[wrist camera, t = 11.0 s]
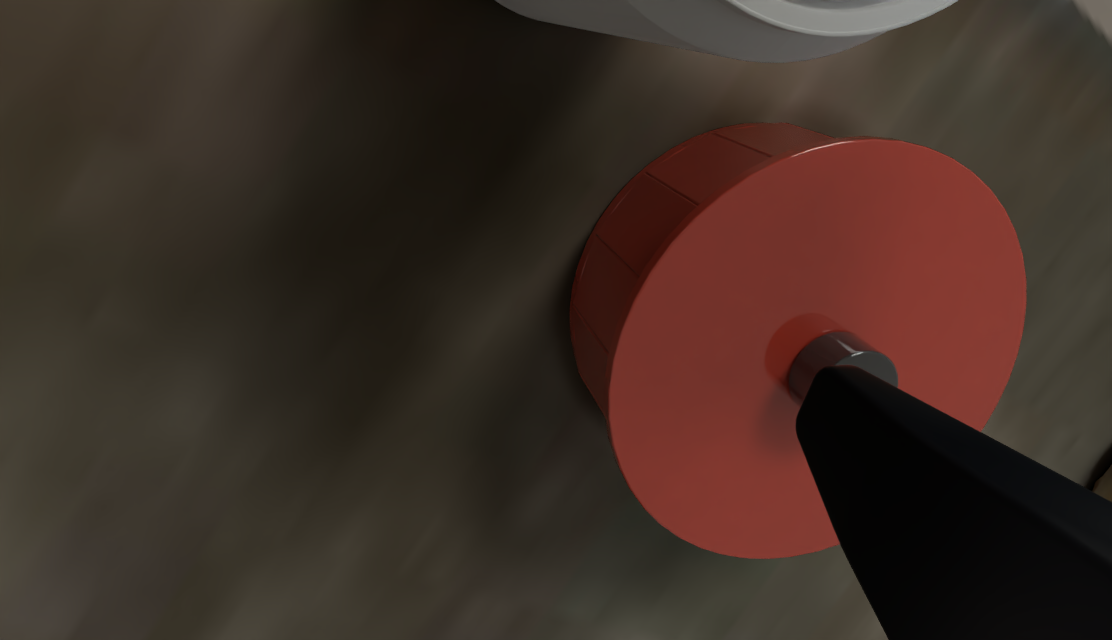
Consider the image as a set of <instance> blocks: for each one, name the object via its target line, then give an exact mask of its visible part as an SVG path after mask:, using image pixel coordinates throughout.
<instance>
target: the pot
mask: <svg viewBox="0 0 1112 640" xmlns="http://www.w3.org/2000/svg"><path fill="white" fill-rule="evenodd" d="M829 139H834V137H831V136H828V135H824V134H821V133H818V132H815V131H811V130H808V129H805V128H802V127H799V126H795V125H792V124H789V123H782V122H781V123H764V122H761V123H747V124H738V125H733V126H728V127H723V128H719V129H715V130H712V131H710V132H707V133H704V134H701V135H698V136H696V137H693V138H691V139H689V140H687V141H685V142H683V143H681V144H679V145H677V146H675V147H673V148H672V149H670V150H669V151H667V152H666V153H664V154H663V155H661V156H660V157H658V158H657V159H655V160H654V161H652V162H651V163H650V164H648V165H647V166H646V167H645V168H644V169H643V170H642V171H640V172H639V173H638V174H637V175H636V176H635V177H634V178H632V179H631V180H630V181H629V182H628V184H627V185H626V186H625V187H624V188H623V189H622V190H621V191H620V192H619V194H618V195H617V196H616V197H615V198H614V199H613V201H612V202H611V203H610V205H609V206H608V208H607V209H606V210H605V212H604V213H603V215H602V216H601V217H600V219H599V221H598V222H597V224H596V226H595V228H594V230H593V232H592V233H591V235H590V237H589V239H588V241H587V243H586V246H585V248H584V251H583V253H582V256H581V258H580V261H579V264H578V267H577V271H576V275H575V279H574V283H573V287H572V295H571V303H570V335H571V341H572V347H573V353H574V356H575V360H576V363H577V370H578V371H579V375H580V377H581V378H582V380H583V382H584V383H585V385H586V387H587V389H588V390H589V392H590V394H591V395H592V397H593V399H594V400H595V402H596V404H597V405H598V407H599V409H600V410H601V412H602V414H603V416H604V417H605V413H604V382H605V375H606V368H607V361H608V354H609V350H610V347H611V343H612V340H613V336H614V332H615V329H616V325H617V323H618V320H619V318H620V315H621V313H622V311H623V308H624V306H625V303H626V301H627V299H628V296H629V294H630V292H631V291H632V289H633V287H634V285H635V283H636V282H637V280H638V278H639V276H640V275H641V273H642V271H643V269H644V268H645V266H646V265H647V263H648V262H649V260H650V259H651V258H652V256H653V255H654V254H655V252H656V251H657V249H658V248H659V247H660V245H661V244H662V243H663V241H664V240H665V239H666V237H667V236H668V235H669V234H670V233H671V232H672V231H673V230H674V229H675V228H676V227H677V226H678V224H679V223H680V222H681V221H682V220H683V219H684V218H685V217H686V216H687V215H688V214H689V213H690V212H691V211H692V210H693V209H694V208H696V207H697V206H698V205H699V204H700V203H701V202H703V201H704V200H705V199H706V198H707V197H708V196H709V195H711V194H712V193H713V192H714V191H715V190H717V189H718V188H720V187H721V186H723V185H724V184H726V183H727V182H729V181H730V180H732V179H733V178H735V177H736V176H738V175H739V174H741V173H742V172H744V171H746V170H748V169H749V168H751V167H753V166H755V165H757V164H759V163H761V162H763V161H765V160H767V159H769V158H771V157H773V156H775V155H778V154H781V153H784V152H786V151H789V150H792V149H795V148H797V147H800V146H803V145H807V144H811V143H816V142H820V141H825V140H829Z"/></svg>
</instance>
